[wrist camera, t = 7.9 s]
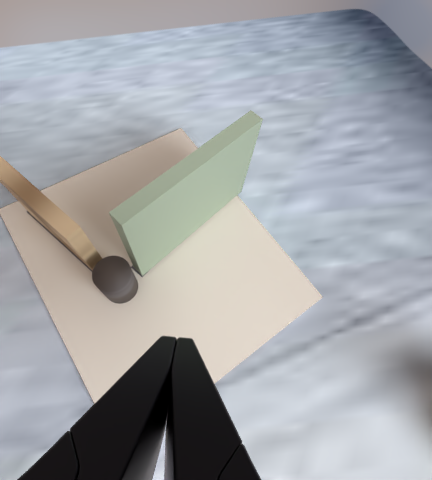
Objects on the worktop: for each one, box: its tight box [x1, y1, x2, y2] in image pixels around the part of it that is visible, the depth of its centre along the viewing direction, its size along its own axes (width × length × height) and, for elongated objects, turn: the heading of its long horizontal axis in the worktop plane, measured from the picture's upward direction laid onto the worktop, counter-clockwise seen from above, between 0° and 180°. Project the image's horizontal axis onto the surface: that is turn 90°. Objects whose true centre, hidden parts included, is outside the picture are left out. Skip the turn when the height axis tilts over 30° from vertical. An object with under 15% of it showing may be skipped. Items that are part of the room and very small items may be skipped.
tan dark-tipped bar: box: [0, 156, 138, 304], centre depth 20 cm, size 11×2×6 cm, turn 50°
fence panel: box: [109, 111, 263, 276], centre depth 20 cm, size 11×1×8 cm, turn 136°
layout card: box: [0, 128, 322, 422], centre depth 23 cm, size 17×20×1 cm
